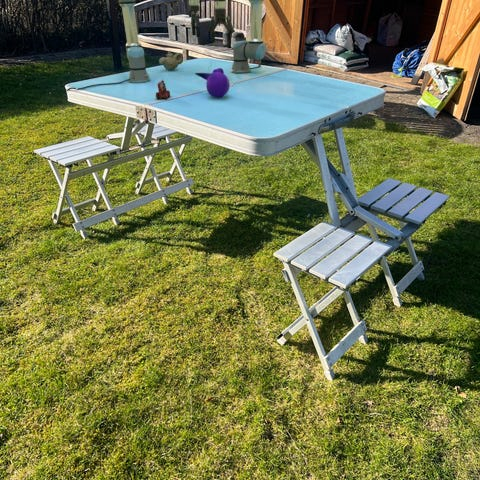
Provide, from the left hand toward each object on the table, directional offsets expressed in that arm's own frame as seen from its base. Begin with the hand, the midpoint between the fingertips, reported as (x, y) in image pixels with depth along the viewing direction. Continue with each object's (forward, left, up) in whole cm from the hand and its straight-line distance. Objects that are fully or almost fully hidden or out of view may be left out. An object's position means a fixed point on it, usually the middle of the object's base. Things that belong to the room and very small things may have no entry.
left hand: (196, 36), depth 348 cm
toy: (-8, -81, -28) cm, 86 cm away
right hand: (+7, -49, 0) cm, 49 cm away
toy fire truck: (-40, -75, -28) cm, 89 cm away
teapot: (-18, +24, -28) cm, 40 cm away
